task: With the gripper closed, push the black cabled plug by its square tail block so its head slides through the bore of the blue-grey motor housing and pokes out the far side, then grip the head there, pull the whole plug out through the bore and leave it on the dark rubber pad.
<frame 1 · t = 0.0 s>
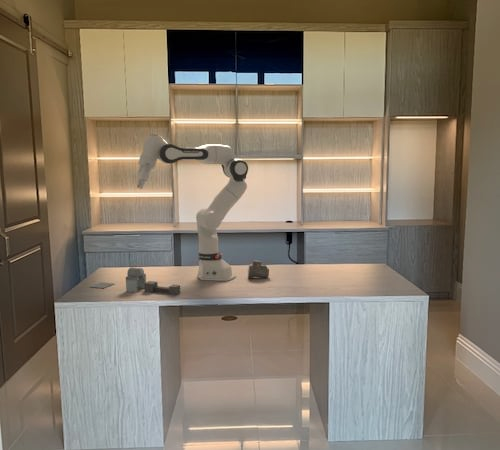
hand: (139, 188, 237), 52 cm above the table, fingers open, 8 cm apart
housing: (136, 289, 231), on the table
plug: (151, 291, 227), on the table
pipe fitting: (258, 278, 252), on the table
pad: (102, 285, 238), on the table
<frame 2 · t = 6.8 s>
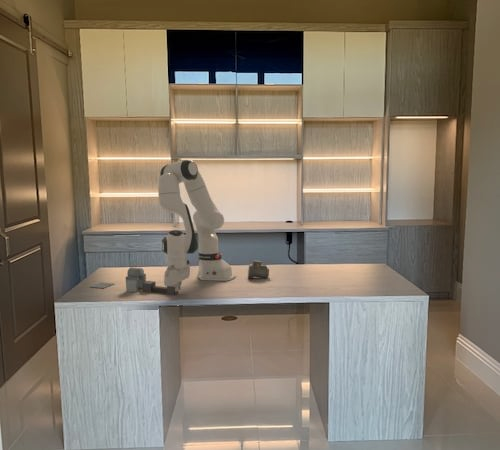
hand: (177, 290, 221), 2 cm above the table, fingers closed
plug: (149, 290, 228), on the table, touching gripper
everything else where it was.
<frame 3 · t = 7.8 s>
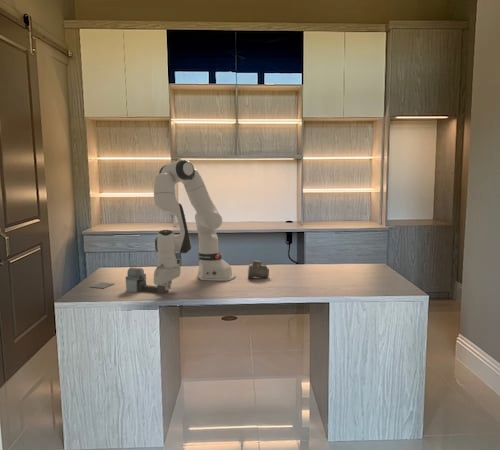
hand: (167, 289, 223), 2 cm above the table, fingers closed, pressing on plug
plug: (139, 289, 229), on the table, touching gripper
everything else where it was.
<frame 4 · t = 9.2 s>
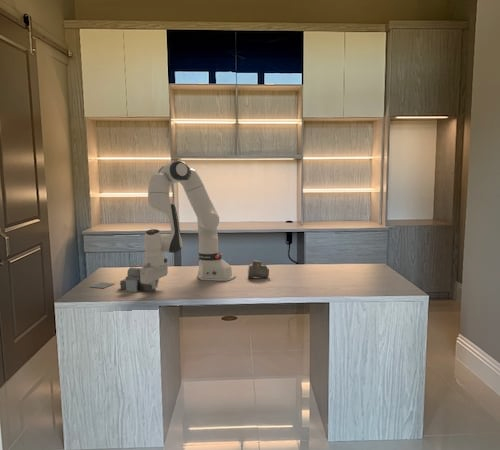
hand: (154, 288, 226), 2 cm above the table, fingers closed, pressing on plug
plug: (127, 288, 232), on the table, touching gripper
everything else where it was.
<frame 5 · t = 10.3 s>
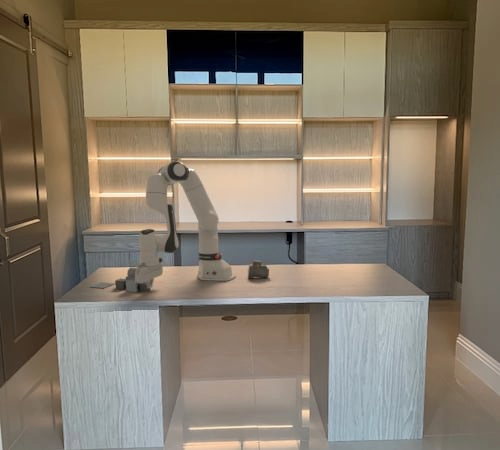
hand: (149, 287, 227), 2 cm above the table, fingers closed, pressing on plug
plug: (122, 288, 233), on the table, touching gripper
everything else where it was.
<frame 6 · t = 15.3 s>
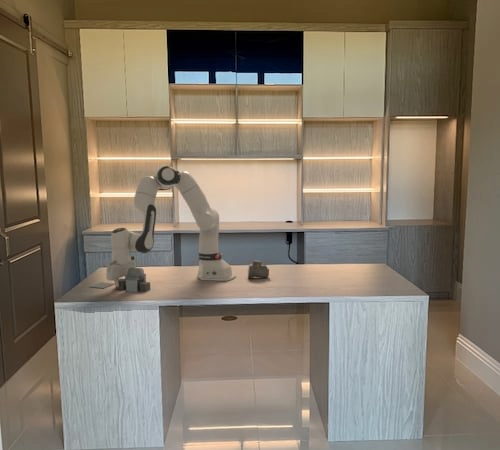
hand: (122, 284, 234), 2 cm above the table, fingers open, 5 cm apart
plug: (122, 288, 233), on the table, touching gripper
everything else where it was.
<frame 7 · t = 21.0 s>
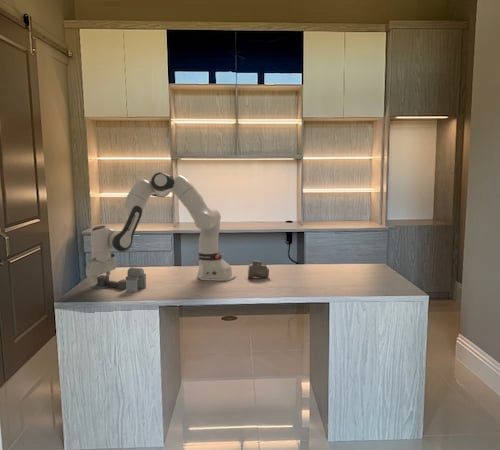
hand: (101, 281, 238), 2 cm above the table, fingers open, 7 cm apart
plug: (102, 284, 238), point 1 cm above the table, touching pad
everything else where it was.
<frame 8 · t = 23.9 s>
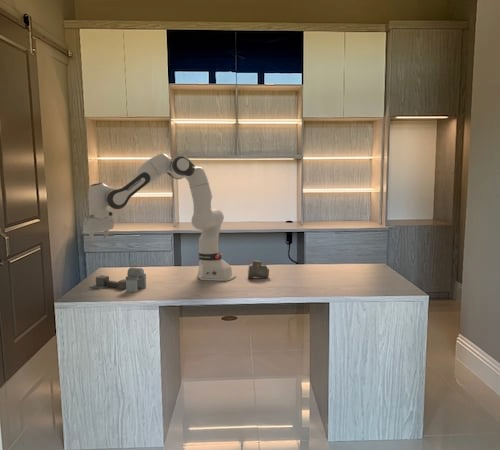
hand: (99, 239, 235), 25 cm above the table, fingers open, 8 cm apart
nothing on the table moved.
at the end: plug inside the target area on the pad (0.3 cm from its centre), point 0.5 cm above the pad's base; plug touching pad, table; the gripper is holding nothing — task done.
